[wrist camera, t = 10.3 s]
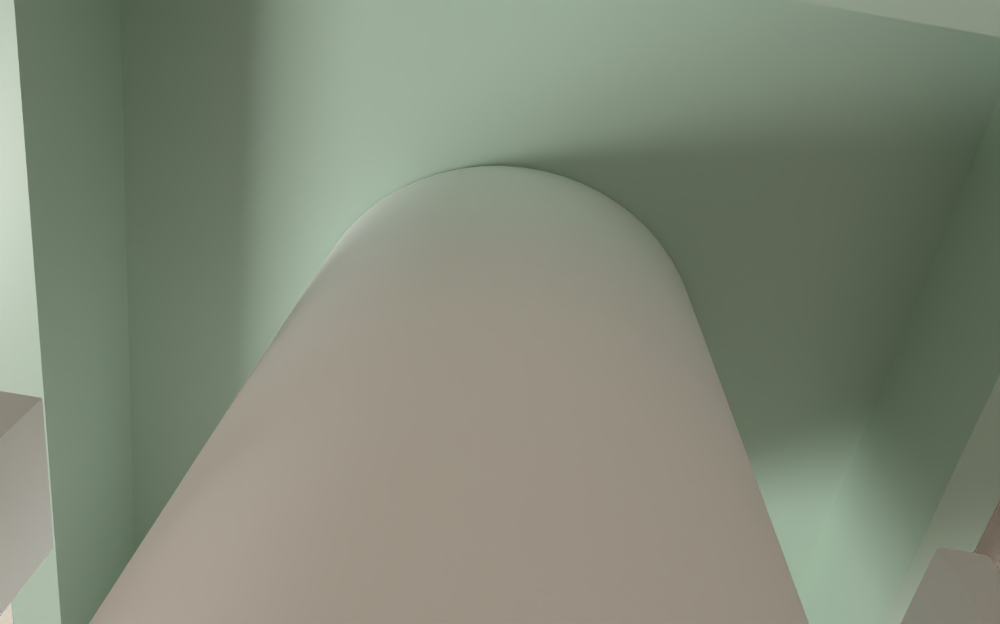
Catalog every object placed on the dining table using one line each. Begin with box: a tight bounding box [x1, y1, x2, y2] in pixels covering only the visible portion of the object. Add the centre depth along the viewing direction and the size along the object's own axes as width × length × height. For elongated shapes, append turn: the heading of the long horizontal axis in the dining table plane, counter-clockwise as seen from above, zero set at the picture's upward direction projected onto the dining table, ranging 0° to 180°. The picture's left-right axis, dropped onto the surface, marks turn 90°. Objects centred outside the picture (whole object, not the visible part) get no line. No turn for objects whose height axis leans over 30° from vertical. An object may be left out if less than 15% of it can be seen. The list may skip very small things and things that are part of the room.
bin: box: [0, 0, 1000, 624], centre depth 17 cm, size 18×18×4 cm
